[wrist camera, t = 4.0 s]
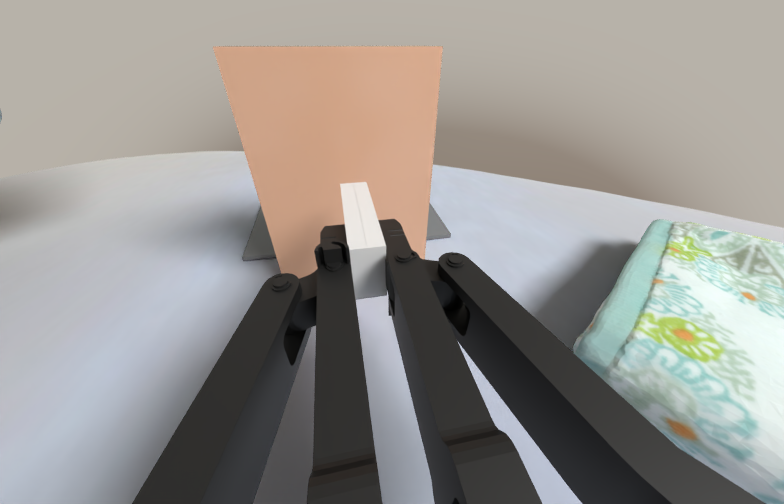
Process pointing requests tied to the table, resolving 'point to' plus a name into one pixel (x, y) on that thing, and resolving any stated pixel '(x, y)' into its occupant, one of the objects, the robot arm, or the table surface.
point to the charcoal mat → (263, 247)
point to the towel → (701, 347)
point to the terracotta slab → (334, 135)
